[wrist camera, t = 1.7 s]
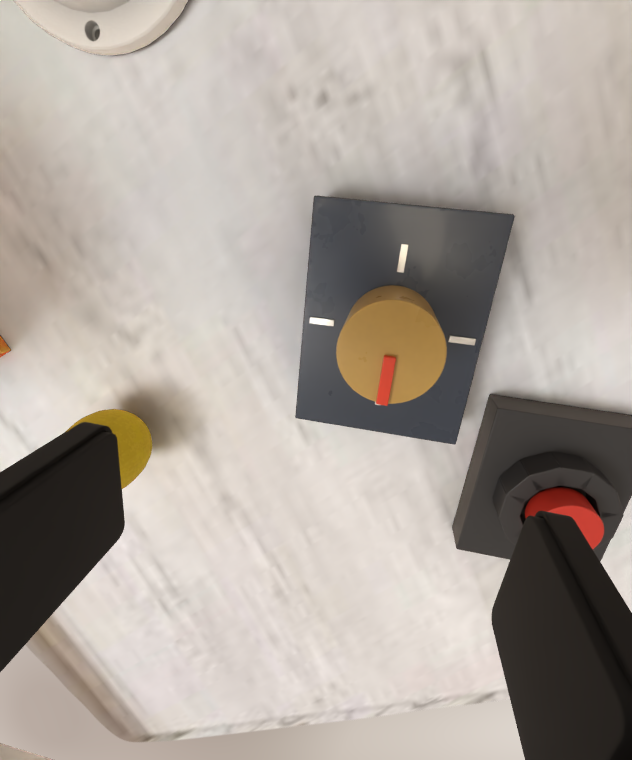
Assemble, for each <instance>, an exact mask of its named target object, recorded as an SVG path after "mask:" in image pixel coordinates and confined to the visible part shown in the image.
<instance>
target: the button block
mask: <svg viewBox="0 0 632 760" xmlns="http://www.w3.org/2000/svg"><path fill="white" fill-rule="evenodd" d="M555 487H564V488H570V489H573V490H576V491H578V492H580V493H581V494H583V495H584V496H585V497H586V498H587V500H588V501H589V502H590V504H591V505H592V507H593V508H594V510H595V511H596V512H597V514H598V515H599V517H600V518H601V520H602V522H603V524H604V535H603V538H602V540H601V542H600V543H599V544H598V545H597V546H596V547H595V548H594V549H592V550H593V551H594V553H595V554H596V556H597V558H598V559H599V561H601V559H602V557H603V555H604V553H605V551H606V548H607V546H608V544H609V542H610V540H611V539H612V538H613V536H614V534H615V532H616V530H617V528H618V526H619V524H620V522H621V519H622V517H623V513H624V511H625V509H626V506H627V504H628V502H629V500H630V498H631V496H632V415H625V414H619V413H612V412H605V411H599V410H592V409H585V408H579V407H572V406H565V405H559V404H552V403H545V402H539V401H532V400H525V399H519V398H512V397H505V396H499V395H492V394H490V395H489V398H488V402H487V406H486V409H485V413H484V416H483V420H482V423H481V427H480V430H479V434H478V438H477V441H476V445H475V448H474V452H473V455H472V459H471V463H470V466H469V470H468V473H467V477H466V480H465V484H464V487H463V491H462V495H461V498H460V502H459V505H458V509H457V512H456V516H455V520H454V523H453V527H452V528H453V533H454V538H455V543H456V548H457V549H460V550H465V551H470V552H475V553H480V554H485V555H490V556H495V557H500V558H505V559H510V560H511V557H512V554H513V552H514V549H515V546H516V544H517V541H518V538H519V535H520V533H521V530H522V527H523V525H524V522H525V520H526V518H525V509H526V506H527V503H528V502H529V500H530V499H531V498H532V497H533V496H534V495H536V494H537V493H539V492H541V491H543V490H545V489H549V488H555Z"/></svg>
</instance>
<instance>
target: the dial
mask: <svg viewBox="0 0 632 760" xmlns="http://www.w3.org/2000/svg"><path fill="white" fill-rule="evenodd" d="M446 356H447V346H446V340H445V336H444V333H443V331H442V329H441V327H440V324H439V322H438V320H437V318H436V316H435V314H434V312H433V310H432V308H431V306H430V304H429V303H428V302H427V301H426V299H425V298H423V297H422V296H421V295H420V294H418V293H417V292H416V291H413V290H411V289H409V288H406V287H402V286H395V285H390V286H382V287H378V288H376V289H373V290H371V291H369V292H367V293H366V294H364V295H363V296H362V297H361V298H360V299H359V300H358V301H357V302H356V303H355V304H354V306H353V307H352V309H351V311H350V313H349V315H348V317H347V319H346V321H345V323H344V326H343V328H342V330H341V332H340V334H339V337H338V341H337V346H336V357H337V363H338V367H339V370H340V372H341V374H342V376H343V378H344V380H345V381H346V382H347V384H348V385H349V386H350V387H351V388H352V389H353V390H354V391H355V392H357V393H358V394H360V395H361V396H363V397H365V398H367V399H369V400H372V401H375V402H376V404H378V405H385V406H388V404H396V403H403V402H407V401H410V400H413V399H415V398H417V397H419V396H421V395H422V394H424V393H425V392H427V391H428V390H429V389H430V388H431V387H432V386H433V385H434V384H435V383H436V381H437V380H438V378H439V377H440V375H441V373H442V371H443V369H444V366H445V362H446Z"/></svg>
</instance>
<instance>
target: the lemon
mask: <svg viewBox="0 0 632 760" xmlns="http://www.w3.org/2000/svg"><path fill="white" fill-rule="evenodd" d="M82 422H89V423H94V424H99V425H104V426H108V427H110V429H111V430H112V433H113V434H115V435H116V437H117V441H118V452H119V464H120V475H121V487H122V489H123V488H124V487H126V486H127V485H129V484H130V483H131V482H132V481H133V480H134V479H135V478H136V477H137V476H138V475H139V474H140V473H141V472H142V471H143V469H144V468H145V466H146V464H147V462H148V460H149V458H150V455H151V451H152V439H151V434H150V431H149V429H148V427H147V426H146V424H145V423H144V422H143V421H142V420H141V419H140V418H139V417H137V416H136V415H134V414H132V413H130V412H127V411H124V410H117V409H111V410H102V411H98V412H95V413H93V414H90V415H88V416H86V417H84V418H82V419H80V420H79V421H77V422H76V423H75V424H73V425H72V426H71V427H70V428H69V429H68V430H70V429H71V428H73V427H75V426H76V425H78V424H80V423H82ZM68 430H67V431H68Z"/></svg>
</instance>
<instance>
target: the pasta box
mask: <svg viewBox="0 0 632 760" xmlns="http://www.w3.org/2000/svg"><path fill="white" fill-rule="evenodd" d="M9 351H11V349H10V348H9V347H8V345H7V344H6V343H5V341H4V340H3V339H2V337H1V336H0V357H2V356H3V355H5V354H6V353H8V352H9Z"/></svg>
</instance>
